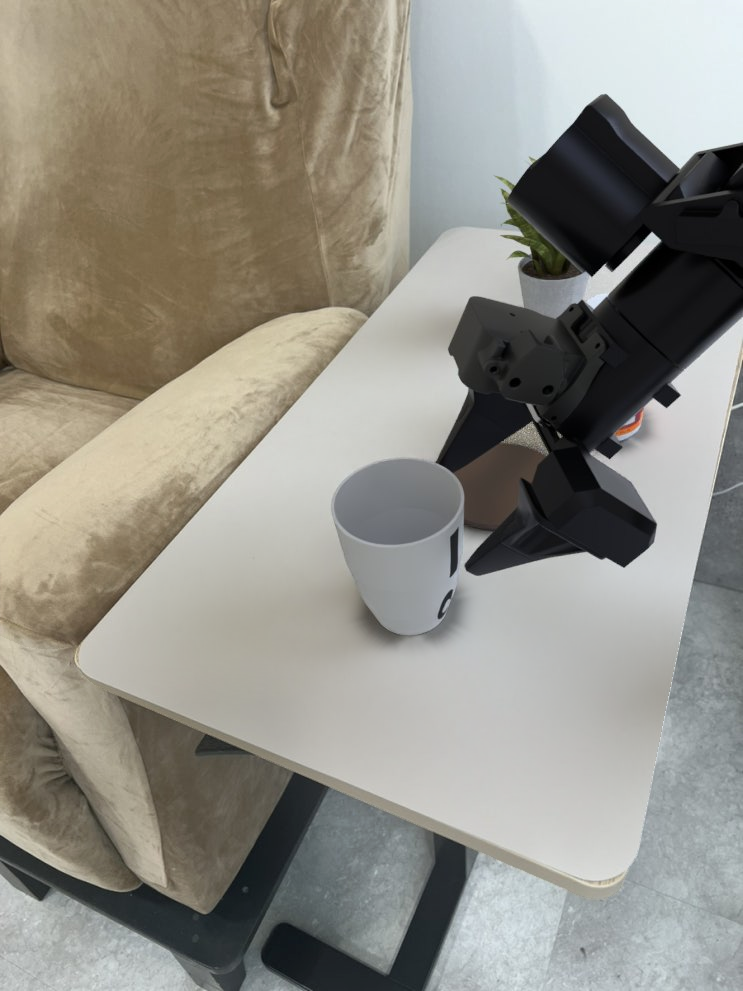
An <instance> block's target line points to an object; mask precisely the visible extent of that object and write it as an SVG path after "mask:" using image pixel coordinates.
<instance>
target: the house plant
mask: <svg viewBox="0 0 743 991" xmlns="http://www.w3.org/2000/svg"><path fill="white" fill-rule="evenodd" d="M528 158H529V160H530V162H531V163H529V162H528V161H527V160H525V159H524V161H525V162H526V163H527V164H528V165H529V166H530V165H531V164H533V163H534V162H535V161H536V160H537V159H536V158H533V157H531V156H528ZM494 177H495V178H497V179H498V180H499V181H501V182H502V184H504V185H505V186H506V187H508V188H509V190H510V191H512V190H513V188H514V187H515V185H516V184H514V183H512V182H511V181H509V180H508V179H507V178H504V177H503V176H498V175H494ZM500 192H501V195H502V197H503V199H504V202H501V204H504V205H505V208H506V211H507V212H506V213H507V214H508V215H509V217H510V219H507V220H505V221H504V222H503V223H501V224H500V226H502V225H510V226H513V227H517V228H518V230H519V231H520V233H521V234H522V236H521V235H515V234H500V235H499V237H502V238H505V239H508V240H513V241H515V242H516V243H519V244H521V245H523V246H525V247H528V248H529V249H530V253H529V254H528V253H526V252H525V251H522V250H519V249H518V250H515V251H513V252H512V253H510V255H508V257H507V258H506V260H509V259H512V258H513V259H514V258H521V259H520V260H519V262H518V264H517V272H518V279H519V285H520V291H521V297H522V303H523V308H527V309H530V310H533V311H535V312H538V313H540V314H542V315H545V316H548V317H551V318H554V319H556V318H557V317H558V316H560V315H561V314H562V313H563V312H564V311H565V310H566V309H567V308H568V307H569V306H570V305H571V304H573V303H576V304H578V303H579V302H580V301H581V300H583V301H584V298H585V294H586V291H587V286H588V282H589V279H590V278H589V277H590V275H589V274H588V273H587V272H585V271H584V272H583V273H582V272H581V271H580V270H579V269H578V268H576V267H575V266H574V265H573V264H572V263H571V262H570V261H569V260H568V259H567V258H566V257H565V256H564V255H563V254H562V253H561V252H559V251H558V250H557V249H556V248H555V247H554V246H553V245H552V244H551V243H550V242H549V241H548V240H547V239H546V238H545V237H543V236H542V235H541V234H540V233H539V232H538V231H537V230H536V229H535V228H534V227H533V226H532V225H531V224H530V223H529V222H527V221H526V220H525V219H524V218H523V217H522V216H521V215H520V214H519V213H518V212H517V211H516V210H515V209H514V208H513V207H511V206H510V205H509V204H508V203H507V199H508V197H509V195H510V193H509V192H508V191H506V190H505V189H503V188H500Z"/></svg>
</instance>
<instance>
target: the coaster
mask: <svg viewBox="0 0 743 991" xmlns="http://www.w3.org/2000/svg"><path fill="white" fill-rule="evenodd" d="M546 456H547V455H545V454H543V453H542V452H540V451H538V450H537V449H533V448H531V447H528V446H524V445H521V444H514V443H505V442H504V443H503V442H501V443H499V444H498V445H496V446H495V447H493V448H492V449H490V450H489V451H487V452H486V453H484V454H483V455H481V456H480V457H478V458H477V459H475V460H474V461H472V462H471V463H469V464H468V465H466V466H465V467H463V468H461V469H460V470H458V471H456V472H454V473H453V474H454V475H455V476H456V477H457V479H458V480H459V481H460V483H461V485H462V488H463V491H464V524H465V525H467V526H471V527H474V528H478V529H482V530H488V531H494V530H495V529H496V528H497V527H498V526H499V525H500V524H501V523H502V522H503V521H504V520H505V519H506V518H507V517H508V516H509V515H510V514H511V513H512V512H513V511H514V510H515V509H516V507H517V505H518V492H519V480H520V478H521V477H522V478H523V479H525V480H527V481H528V482H530V483H532V481H533V478H534V475H535V471H536V468H537V465H538V464H539V463H540V462H541V461H542V460H543V459H544V458H545V457H546Z"/></svg>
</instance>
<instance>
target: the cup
mask: <svg viewBox="0 0 743 991" xmlns="http://www.w3.org/2000/svg"><path fill="white" fill-rule="evenodd" d="M330 512H331V517H332V520H333V523H334V527H335V530H336V534H337V537H338V540H339V545H340V548H341V550H342V554H343V557H344V560H345V564H346V566H347V568H348V571H349V573H350V575H351V577H352V579H353V581H354V584H355V586H356V588H357V590H358V593H359V594H360V597H361V598H362V600H363V602H364V604H365V605H366V606H367V608H368V609H369V610H370V612H371V613H372V614H373V616H374V617H375V619H376V620H377V621H378V622H379V623H380V625H381V626H382V627H383V628H385V629H386V630H388V631H389V632H391V633H393V634H397V635H401V636H417V635H421V634H425V633H427V632H429V631H431V630H433V629H435V628H437V626H439V625H440V624H441V622H442V621H443V620H444V618H445V617H446V615H447V613H448V609H449V607H450V605H451V602H452V600H453V597H454V594H455V592H456V589H457V585H458V579H459V574H460V569H461V568H460V567H461V561H462V556H463V549H464V526H465V525H464V524H465V523H464V491H463V488H462V485H461V483H460V481H459V480H458V479H457V477H456V476H455V475H454V474H453V473H452V472H451V471H449V470H448V469H446V468H445V467H443V466H441V465H439V464H437V463H435V462H434V461H432V460H429V459H424V458H420V457H407V456H405V457H404V456H403V457H402V456H401V457H391V458H385V459H381V460H376V461H373V462H371V463H368V464H366V465H363V466H361V467H360V468H358V469H356V470H355V471H353V472H351V473H349V474H348V475H347V476H346V477H345V478H344V479H343V480H342V481H341V482H340V484H338V486H337V487H336V489H335V491H334V492H333V495H332V498H331V503H330Z"/></svg>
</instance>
